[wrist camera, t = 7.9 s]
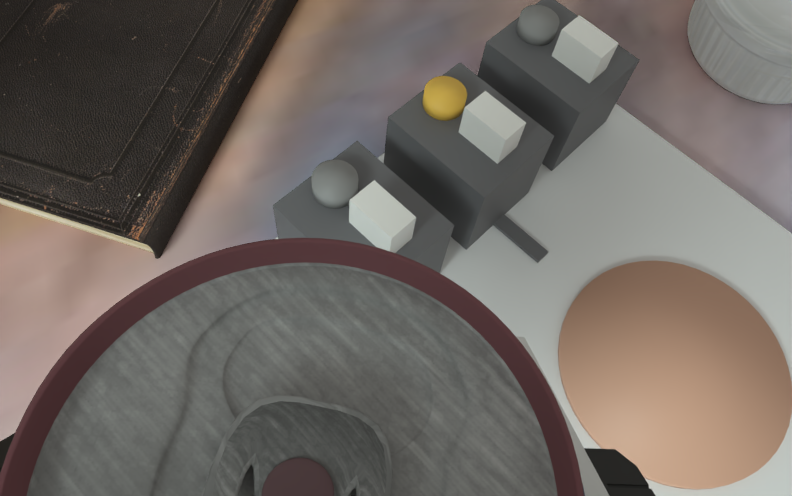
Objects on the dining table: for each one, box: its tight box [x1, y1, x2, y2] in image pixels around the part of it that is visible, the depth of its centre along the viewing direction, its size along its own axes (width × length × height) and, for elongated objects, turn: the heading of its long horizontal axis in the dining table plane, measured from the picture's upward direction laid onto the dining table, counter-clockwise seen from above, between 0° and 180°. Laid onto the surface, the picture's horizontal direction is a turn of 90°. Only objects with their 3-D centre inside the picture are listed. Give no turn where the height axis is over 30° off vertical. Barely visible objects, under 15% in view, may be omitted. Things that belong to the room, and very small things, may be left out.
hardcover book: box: [0, 0, 298, 258], centre depth 41 cm, size 16×23×2 cm
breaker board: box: [273, 0, 792, 496], centre depth 32 cm, size 26×22×8 cm
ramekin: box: [688, 0, 792, 104], centre depth 43 cm, size 11×11×5 cm
